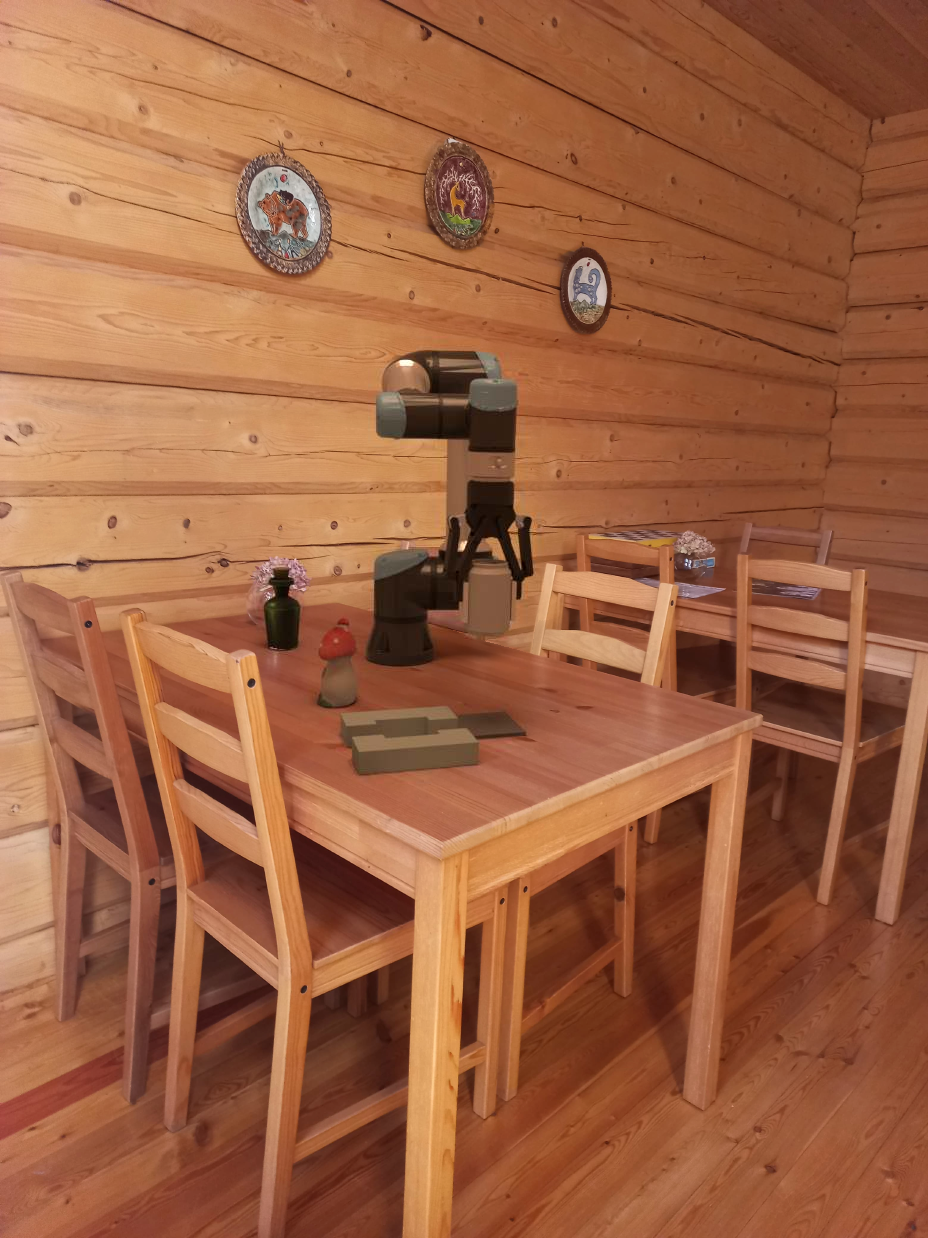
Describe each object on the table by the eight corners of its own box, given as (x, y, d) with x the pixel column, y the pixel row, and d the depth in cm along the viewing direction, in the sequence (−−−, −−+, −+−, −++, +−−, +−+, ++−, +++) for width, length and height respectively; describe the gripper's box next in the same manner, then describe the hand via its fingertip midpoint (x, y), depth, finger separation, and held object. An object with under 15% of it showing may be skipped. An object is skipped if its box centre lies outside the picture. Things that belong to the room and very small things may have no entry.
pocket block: (340, 733, 145) (340, 713, 144) (446, 725, 150) (447, 705, 149) (359, 775, 128) (359, 752, 127) (478, 764, 133) (478, 742, 132)
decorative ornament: (340, 693, 167) (339, 615, 164) (368, 699, 164) (368, 619, 160) (307, 705, 159) (306, 624, 156) (336, 712, 156) (336, 628, 153)
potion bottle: (271, 653, 195) (269, 572, 191) (259, 645, 201) (257, 566, 198) (306, 649, 199) (305, 569, 195) (294, 641, 205) (292, 564, 202)
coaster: (444, 719, 153) (444, 715, 153) (504, 714, 156) (504, 711, 156) (462, 740, 143) (462, 736, 143) (526, 735, 146) (526, 731, 146)
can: (516, 636, 144) (519, 563, 141) (473, 639, 141) (475, 564, 139) (499, 626, 151) (501, 556, 148) (457, 629, 148) (459, 557, 146)
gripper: (434, 480, 135) (432, 627, 139) (559, 481, 140) (553, 622, 145) (423, 477, 142) (421, 617, 146) (542, 478, 147) (536, 613, 152)
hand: (487, 619), depth 146 cm, fingers closed on can, 7 cm apart
